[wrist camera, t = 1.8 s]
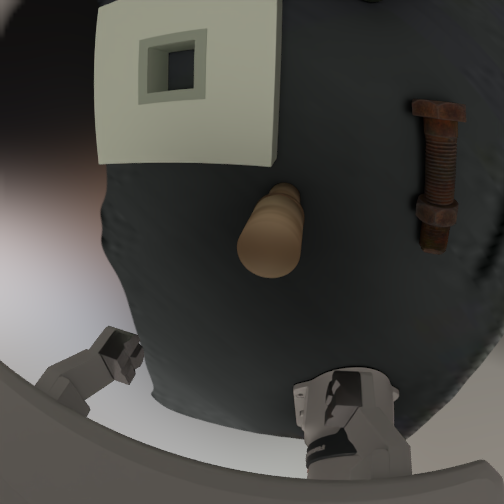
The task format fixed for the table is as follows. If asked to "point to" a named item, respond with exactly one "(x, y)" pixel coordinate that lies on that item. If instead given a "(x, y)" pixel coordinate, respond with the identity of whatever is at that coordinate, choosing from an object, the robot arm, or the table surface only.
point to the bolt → (438, 171)
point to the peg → (273, 233)
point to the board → (205, 81)
